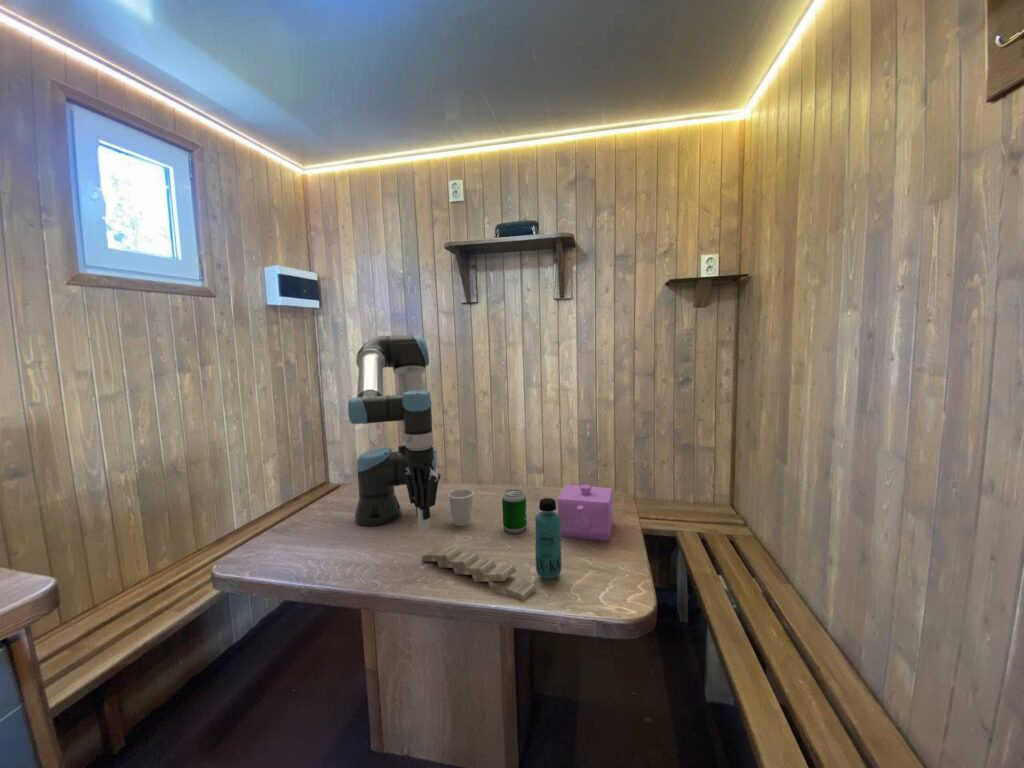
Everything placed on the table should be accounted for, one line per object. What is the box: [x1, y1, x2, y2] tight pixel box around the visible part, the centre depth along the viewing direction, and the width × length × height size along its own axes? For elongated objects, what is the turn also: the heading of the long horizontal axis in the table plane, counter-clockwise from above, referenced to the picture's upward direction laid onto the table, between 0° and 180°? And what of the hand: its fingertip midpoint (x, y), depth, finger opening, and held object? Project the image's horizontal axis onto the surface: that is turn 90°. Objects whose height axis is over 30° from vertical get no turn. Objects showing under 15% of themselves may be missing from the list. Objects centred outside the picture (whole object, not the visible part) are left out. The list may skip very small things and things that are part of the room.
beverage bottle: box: [534, 497, 563, 579], centre depth 105 cm, size 6×7×20 cm
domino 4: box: [471, 564, 517, 583], centre depth 104 cm, size 2×5×10 cm
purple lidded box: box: [557, 484, 614, 542], centre depth 130 cm, size 15×25×14 cm, turn 162°
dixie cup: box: [447, 488, 474, 527], centre depth 140 cm, size 8×8×10 cm
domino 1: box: [421, 547, 462, 562], centre depth 115 cm, size 2×5×10 cm
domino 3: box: [452, 559, 497, 576], centre depth 108 cm, size 2×5×10 cm
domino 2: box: [436, 552, 479, 569], centre depth 111 cm, size 2×5×10 cm
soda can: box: [501, 488, 528, 534], centre depth 133 cm, size 8×8×12 cm
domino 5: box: [488, 575, 536, 602], centre depth 101 cm, size 2×5×10 cm
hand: (423, 529), depth 118 cm, fingers closed
